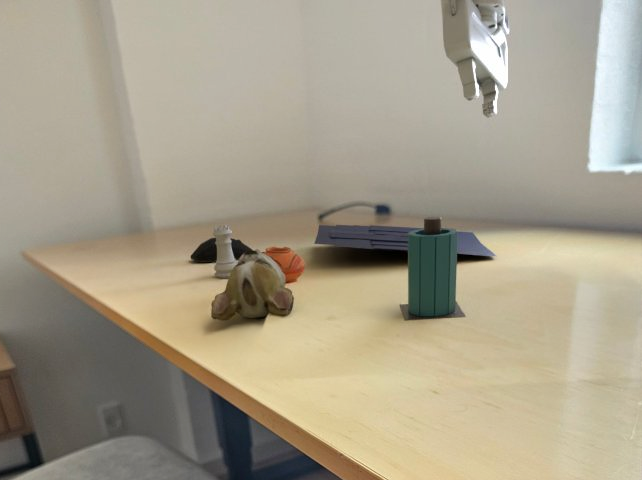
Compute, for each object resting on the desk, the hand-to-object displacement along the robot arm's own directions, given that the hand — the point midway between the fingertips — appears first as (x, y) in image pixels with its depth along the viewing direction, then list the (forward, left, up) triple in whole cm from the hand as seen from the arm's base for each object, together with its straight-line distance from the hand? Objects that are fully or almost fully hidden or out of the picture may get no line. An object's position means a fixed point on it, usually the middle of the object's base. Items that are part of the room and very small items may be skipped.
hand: (481, 107), depth 98 cm
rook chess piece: (+41, 0, -23) cm, 47 cm away
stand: (+11, +34, -22) cm, 42 cm away
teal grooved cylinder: (+11, +34, -21) cm, 41 cm away
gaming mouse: (+43, -16, -23) cm, 51 cm away
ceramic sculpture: (+33, +26, -23) cm, 48 cm away
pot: (+31, +12, -23) cm, 40 cm away
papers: (+11, -11, -23) cm, 28 cm away
